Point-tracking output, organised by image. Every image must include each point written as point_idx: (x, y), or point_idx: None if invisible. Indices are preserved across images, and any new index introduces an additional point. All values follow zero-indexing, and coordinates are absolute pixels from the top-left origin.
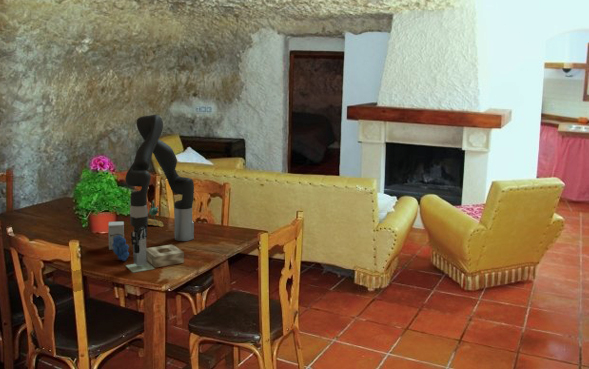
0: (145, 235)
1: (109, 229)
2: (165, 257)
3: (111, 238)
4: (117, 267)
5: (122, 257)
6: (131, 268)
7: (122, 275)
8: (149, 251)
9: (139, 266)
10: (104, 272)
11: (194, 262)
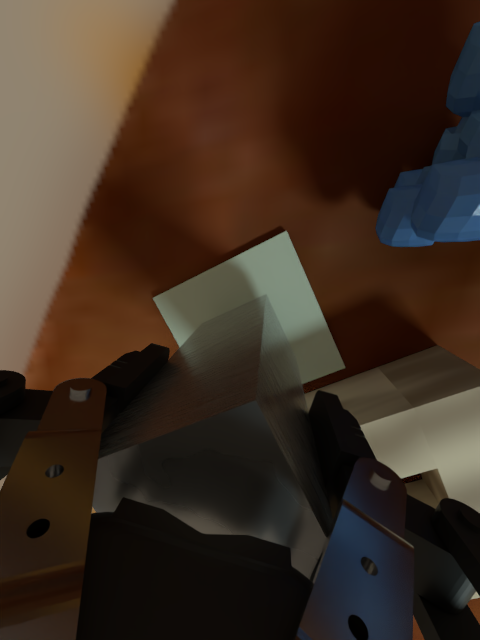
0: (419, 606)
1: None
2: None
3: None
4: (263, 173)
5: (402, 184)
6: (217, 281)
7: (107, 237)
8: (391, 425)
9: None
10: (157, 89)
11: None
